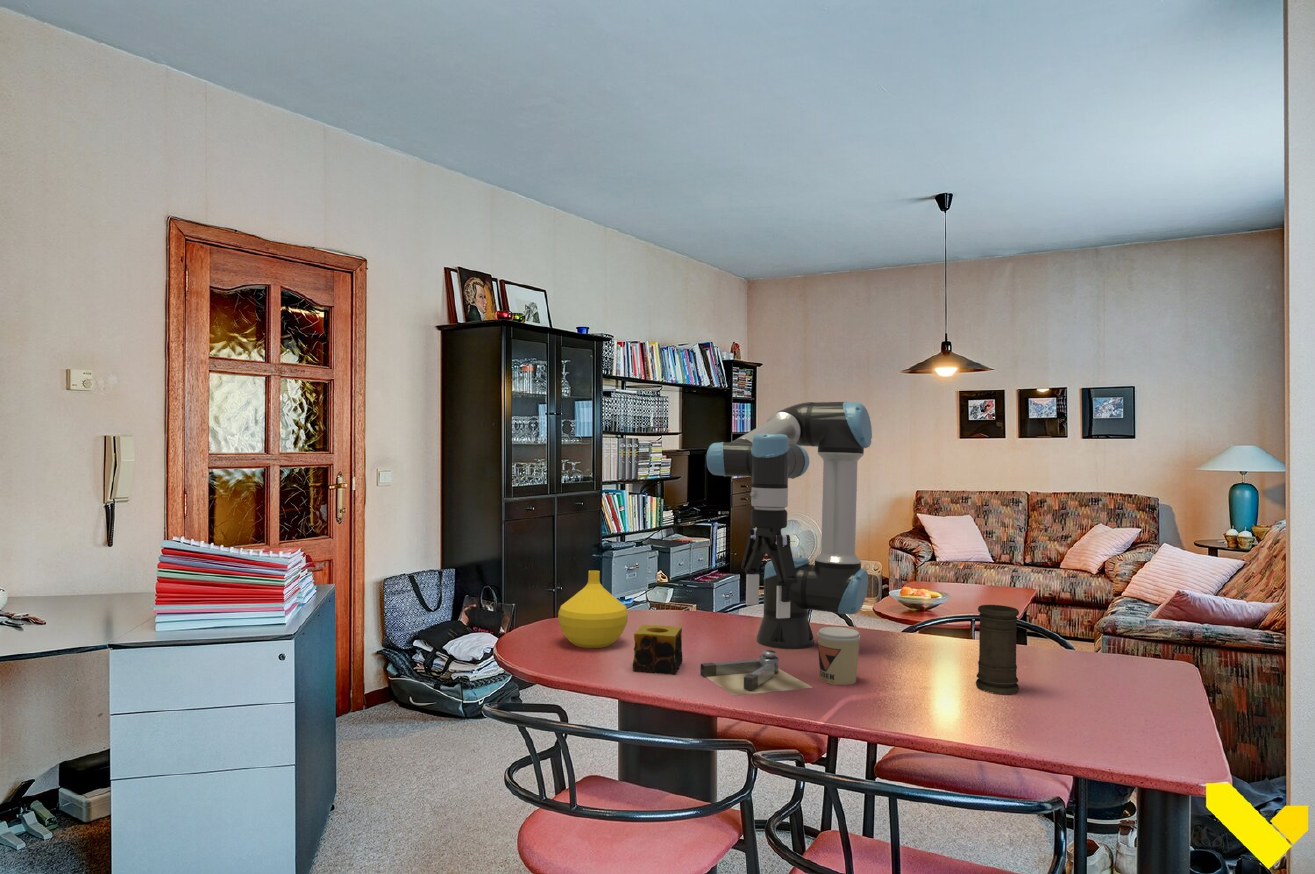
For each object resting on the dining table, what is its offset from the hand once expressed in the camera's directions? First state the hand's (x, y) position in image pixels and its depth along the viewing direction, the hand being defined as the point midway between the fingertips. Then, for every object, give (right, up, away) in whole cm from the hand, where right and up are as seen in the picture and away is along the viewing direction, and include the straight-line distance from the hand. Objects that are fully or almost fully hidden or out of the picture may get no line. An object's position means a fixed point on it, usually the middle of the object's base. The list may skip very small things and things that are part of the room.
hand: (767, 611), depth 169 cm
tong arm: (0, -18, +12) cm, 21 cm away
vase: (-40, -19, +46) cm, 64 cm away
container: (+53, -20, +13) cm, 58 cm away
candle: (-23, -19, +21) cm, 36 cm away
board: (-1, -19, +12) cm, 22 cm away
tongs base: (-4, -18, +16) cm, 24 cm away
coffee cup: (+18, -20, +14) cm, 30 cm away
